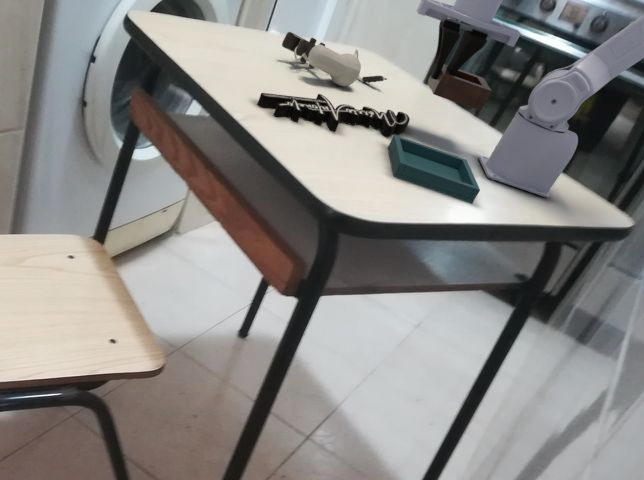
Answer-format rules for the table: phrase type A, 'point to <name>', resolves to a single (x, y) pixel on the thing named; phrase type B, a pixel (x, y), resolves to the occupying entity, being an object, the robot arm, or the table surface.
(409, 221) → the table surface
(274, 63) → the table surface
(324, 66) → the clip-on lamp
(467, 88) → the frame
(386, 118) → the nameplate
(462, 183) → the holder
